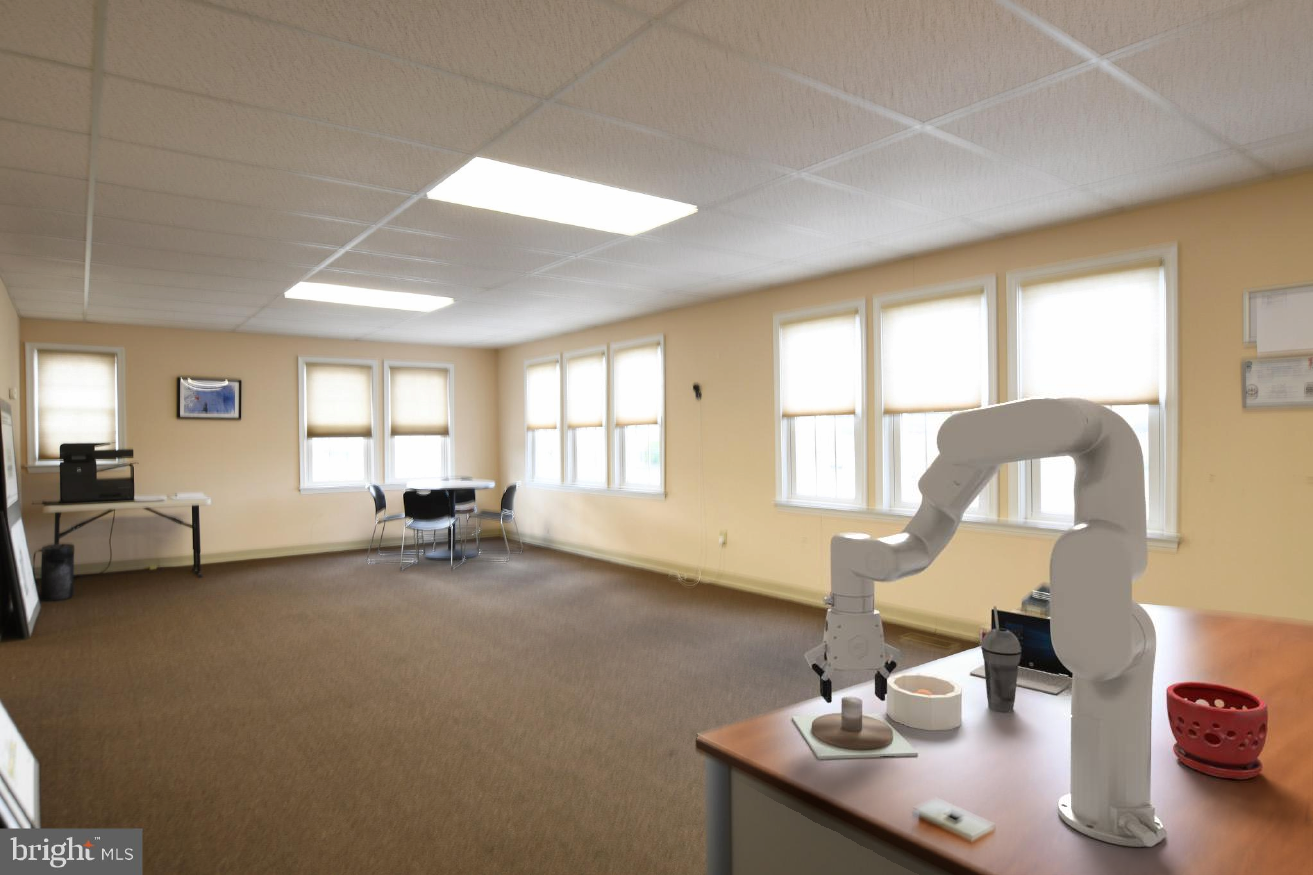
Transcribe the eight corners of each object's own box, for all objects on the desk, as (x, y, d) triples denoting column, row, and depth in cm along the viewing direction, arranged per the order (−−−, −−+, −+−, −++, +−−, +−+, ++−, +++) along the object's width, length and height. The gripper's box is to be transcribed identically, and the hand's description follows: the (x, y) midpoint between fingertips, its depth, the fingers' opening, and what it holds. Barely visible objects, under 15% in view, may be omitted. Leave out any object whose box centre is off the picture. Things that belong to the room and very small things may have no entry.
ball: (938, 714, 139) (938, 693, 139) (918, 715, 139) (918, 694, 139) (929, 706, 143) (929, 686, 143) (909, 707, 143) (909, 686, 143)
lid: (906, 749, 125) (906, 714, 125) (825, 751, 124) (825, 716, 124) (875, 717, 139) (875, 685, 139) (802, 719, 138) (802, 687, 138)
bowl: (974, 729, 135) (974, 696, 135) (904, 731, 134) (904, 698, 134) (941, 702, 148) (941, 672, 148) (877, 704, 147) (877, 674, 147)
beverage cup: (1026, 716, 141) (1026, 612, 141) (985, 713, 143) (986, 610, 142) (1015, 702, 148) (1016, 603, 148) (976, 699, 150) (977, 601, 149)
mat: (917, 755, 124) (917, 752, 124) (818, 758, 123) (818, 755, 123) (879, 716, 141) (879, 713, 141) (792, 718, 140) (792, 716, 140)
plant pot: (1169, 742, 129) (1170, 674, 129) (1266, 764, 121) (1267, 691, 121) (1161, 769, 119) (1162, 695, 119) (1267, 795, 111) (1268, 715, 111)
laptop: (968, 675, 165) (969, 617, 165) (991, 663, 174) (991, 608, 174) (1056, 696, 152) (1056, 633, 152) (1075, 682, 161) (1076, 622, 161)
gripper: (811, 609, 127) (812, 708, 127) (908, 606, 128) (909, 705, 128) (799, 599, 134) (800, 693, 134) (891, 597, 136) (892, 690, 136)
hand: (853, 699), depth 131 cm, fingers open, 9 cm apart
